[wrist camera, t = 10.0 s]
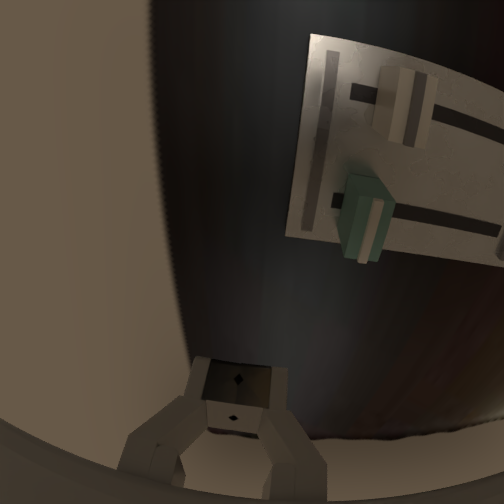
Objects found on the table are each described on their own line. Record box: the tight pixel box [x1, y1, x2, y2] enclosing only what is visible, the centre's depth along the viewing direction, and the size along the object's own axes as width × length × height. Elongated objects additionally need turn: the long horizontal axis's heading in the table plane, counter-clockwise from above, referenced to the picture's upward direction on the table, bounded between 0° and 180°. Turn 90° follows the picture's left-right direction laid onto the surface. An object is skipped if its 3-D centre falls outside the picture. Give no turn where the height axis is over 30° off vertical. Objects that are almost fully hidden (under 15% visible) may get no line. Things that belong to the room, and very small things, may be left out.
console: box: [285, 34, 504, 267], centre depth 21 cm, size 22×15×2 cm
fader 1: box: [337, 174, 396, 264], centre depth 21 cm, size 2×4×4 cm, turn 175°
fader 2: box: [372, 66, 438, 149], centre depth 17 cm, size 2×4×4 cm, turn 175°
